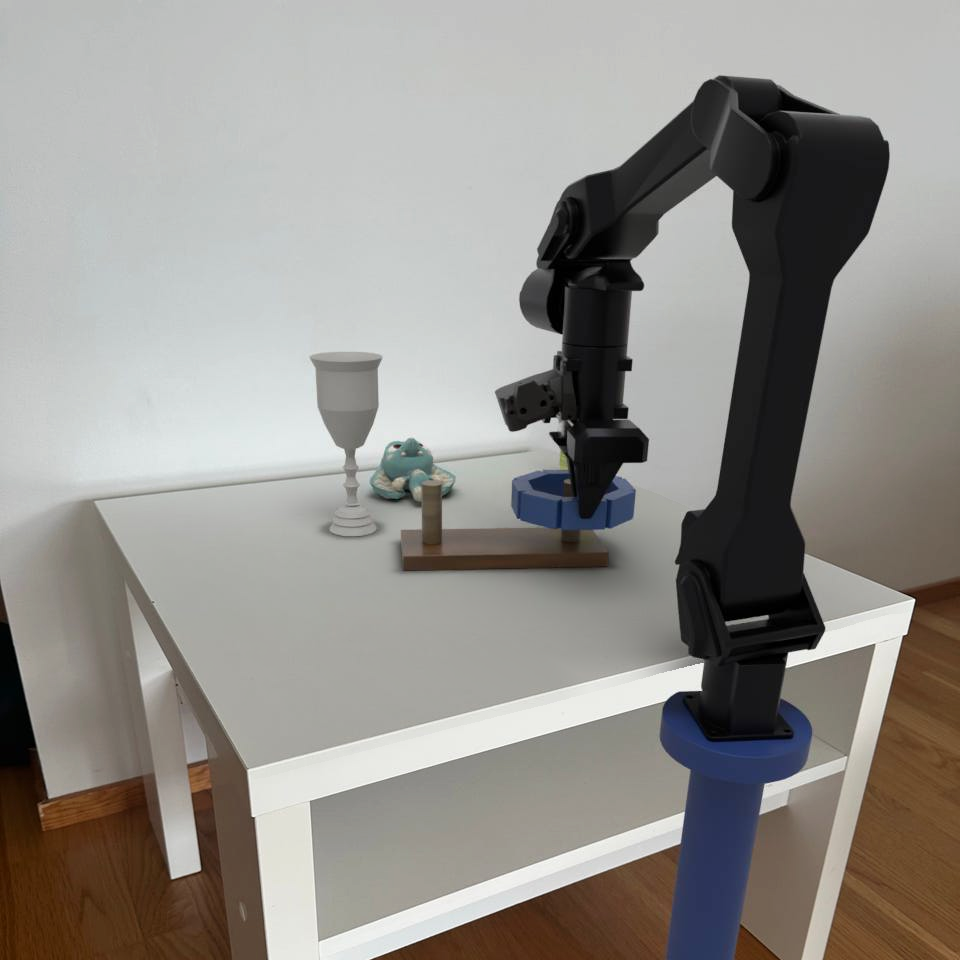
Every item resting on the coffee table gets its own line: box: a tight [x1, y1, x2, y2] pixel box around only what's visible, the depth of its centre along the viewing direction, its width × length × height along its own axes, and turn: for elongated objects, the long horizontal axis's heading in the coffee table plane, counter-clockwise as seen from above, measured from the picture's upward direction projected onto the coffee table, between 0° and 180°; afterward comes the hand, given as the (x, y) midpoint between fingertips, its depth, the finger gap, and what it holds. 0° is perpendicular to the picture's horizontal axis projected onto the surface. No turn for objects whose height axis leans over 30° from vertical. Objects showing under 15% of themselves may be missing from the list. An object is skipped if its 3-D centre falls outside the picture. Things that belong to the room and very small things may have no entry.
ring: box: [510, 469, 637, 531], centre depth 93 cm, size 12×12×3 cm
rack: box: [400, 479, 609, 571], centre depth 93 cm, size 8×20×8 cm, turn 96°
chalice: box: [309, 351, 384, 537], centre depth 97 cm, size 7×7×18 cm
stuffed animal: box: [369, 437, 457, 503], centre depth 112 cm, size 11×7×12 cm
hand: (583, 515), depth 88 cm, fingers closed on ring, 2 cm apart
